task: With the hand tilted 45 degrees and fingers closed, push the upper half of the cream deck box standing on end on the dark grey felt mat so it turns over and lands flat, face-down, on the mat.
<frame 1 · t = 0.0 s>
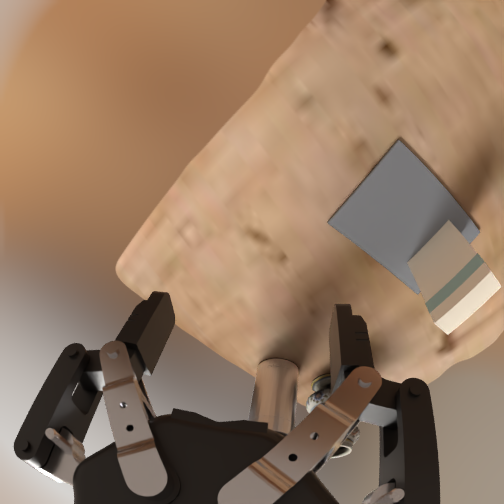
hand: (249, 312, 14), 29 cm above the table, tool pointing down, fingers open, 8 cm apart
mat: (412, 225, 40), on the table
deck box: (434, 248, 41), resting on mat
apothecary jar: (332, 383, 63), on the table
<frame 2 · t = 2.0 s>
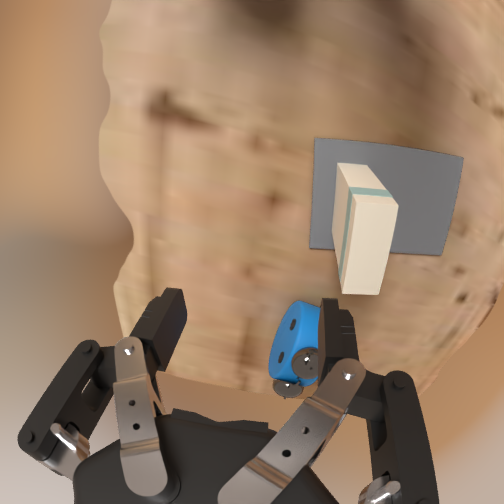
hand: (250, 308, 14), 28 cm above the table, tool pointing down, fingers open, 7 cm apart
mat: (388, 200, 38), on the table
deck box: (349, 199, 38), resting on mat
alarm clock: (301, 314, 51), on the table
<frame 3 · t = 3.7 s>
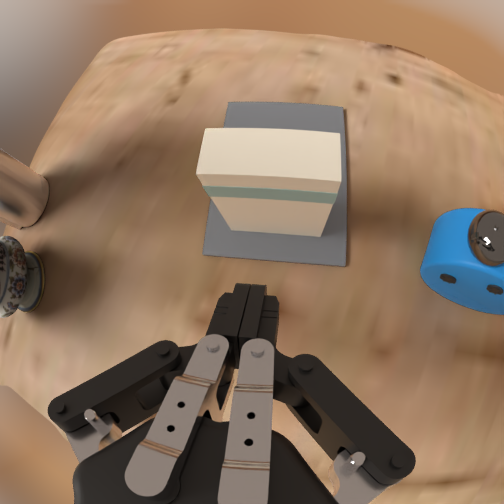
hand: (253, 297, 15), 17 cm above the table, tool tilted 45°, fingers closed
mat: (280, 171, 35), on the table
deck box: (277, 216, 33), resting on mat
alarm clock: (449, 277, 30), on the table
apothecary jar: (27, 282, 37), on the table
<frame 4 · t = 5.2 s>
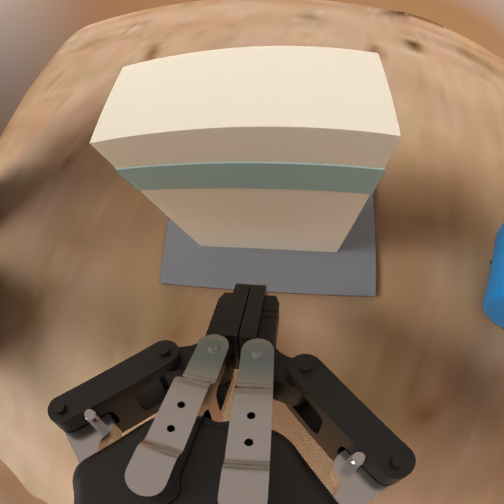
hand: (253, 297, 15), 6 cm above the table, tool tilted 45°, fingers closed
mat: (273, 157, 24), on the table
deck box: (269, 222, 22), resting on mat
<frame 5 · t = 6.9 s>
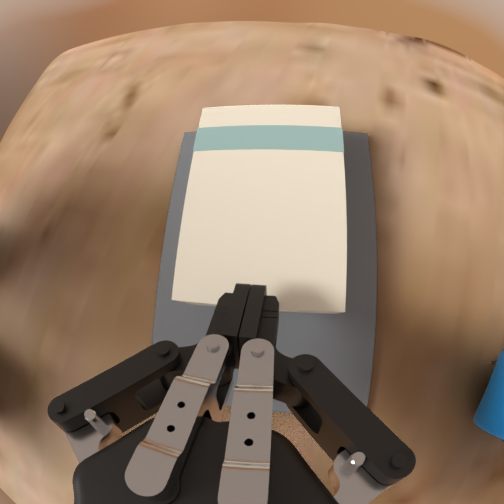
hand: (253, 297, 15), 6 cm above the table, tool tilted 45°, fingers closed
mat: (266, 257, 21), on the table
deck box: (259, 308, 18), point 2 cm above the table, tilted 90°, touching mat
alarm clock: (503, 394, 16), on the table
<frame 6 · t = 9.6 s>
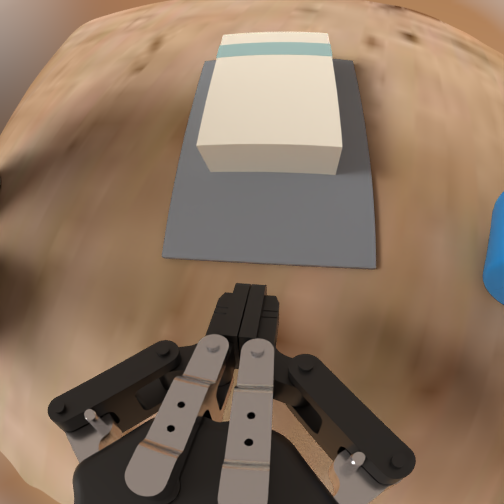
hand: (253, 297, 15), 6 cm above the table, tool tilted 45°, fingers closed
mat: (274, 137, 24), on the table
deck box: (270, 159, 21), point 2 cm above the table, tilted 90°, touching mat
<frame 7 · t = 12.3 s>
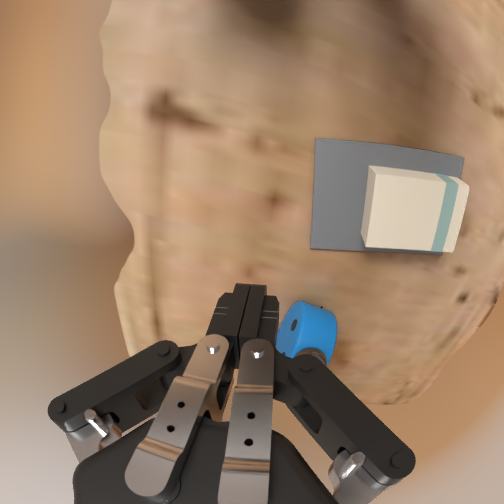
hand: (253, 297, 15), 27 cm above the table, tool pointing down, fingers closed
mat: (389, 201, 38), on the table
deck box: (367, 206, 36), point 2 cm above the table, tilted 90°, touching mat
alarm clock: (302, 315, 51), on the table
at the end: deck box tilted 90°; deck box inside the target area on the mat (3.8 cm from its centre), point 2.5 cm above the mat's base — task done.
